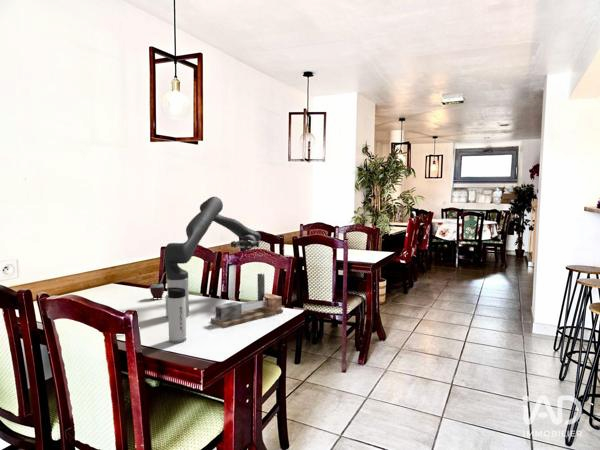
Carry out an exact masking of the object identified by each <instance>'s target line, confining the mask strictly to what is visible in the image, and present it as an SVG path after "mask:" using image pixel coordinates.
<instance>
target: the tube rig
mask: <svg viewBox="0 0 600 450" xmlns="http://www.w3.org/2000/svg"><path fill="white" fill-rule="evenodd" d="M265 298H267V299H268V306H265V307H261V308H257V309H252V310H248V311H244V312H241V304H240V303H241V302H240V303H239V302H238V301H231V302H228V303H223V304H216V305H215V306H214V307H215V308H214V310H215V315H214V316H215V317H212V318H210V323H213V324H215V325H218V326H220V327H222V328H229V327H233V326H235V325H241V324H245V323H247V322H252V321H255V320H260V319H263V318H266V317H267V318H268V317H270V316H271V317H272V316H276V315H279V314H283V313H284V309H283V307H282V301H283V299H282V296H279V295H276V294H272V293H269V292H268V293H265ZM282 312H283V313H282Z"/></svg>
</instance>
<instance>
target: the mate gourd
mask: <svg viewBox="0 0 600 450" xmlns="http://www.w3.org/2000/svg"><path fill="white" fill-rule="evenodd" d="M165 275H166V271H165V272H163V274H162V276H161V280H160V282H157V283H156V282H154V283H152V284H151V285H150V287H149V288H150V289H149V291H150V294H151V296H152V299H153V298H163V295H164V293H165V287H164V286H165V285H164V284H163V282H162V281H163V279H164V276H165Z"/></svg>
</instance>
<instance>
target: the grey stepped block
mask: <svg viewBox="0 0 600 450" xmlns="http://www.w3.org/2000/svg"><path fill="white" fill-rule="evenodd" d="M265 279H266V278H265V273H257V299H254V300H251V301H246V302H242V303H241V302H240V304H241V312H244V311H248V310H252V309H257V308H261V307H265V306H268V299H267V298H265V294H266V293H265V292H266V291H265V285H266V284H265V282H266V281H265Z"/></svg>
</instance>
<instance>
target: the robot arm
mask: <svg viewBox="0 0 600 450" xmlns="http://www.w3.org/2000/svg"><path fill="white" fill-rule="evenodd" d="M223 206H224V203H223V201H222V199H221V198H219V197H218V196H210V197H209V198H207V199H206V200H205V201H203V202H202V203H201V204H200V206H199V210H200V212H199V213H197V214H196V215H195V216H194V217H193V218H192V219H190V221H189V222H188V224H187V226H186V228H185V233H186V237H187V240H186V241H184V242H170V243H168V244H166V245H165V247H164V248H165V249H164V266H165V272H166V273H165V275H166V282H167V283H166V285H167V286H166V291H167V293H166V295H165V317H167V318H168V290H167V288H168V287H170V288H173V287H177V288H183V289H185V296H186V297H185V298H186V317H188V316H189V315H190V309H189V308H190V302H189V301H190V300H189V295H190V294H189V293H190V292H189V272H188V271H187V270H185V269H183V268H182V267H180V266H179V265H181V264H187V263H189V261H191V259H192V257H193V255H194V254H195V253H194V252H195V251H196V249H197V247H198V245H199V243H200V242H201V240H202V239H203V237H204V236H205V234H206V233H207V232H208V230H209V228H210V226H211V224H212V223H213V222H215V223H216V224H218V225H220V226H222V227H224V228H225V229H227V230H228V231H230V232H232V233H233V234H234V235H235V236H236V237H238V238H240V240H237V241H236V240H233V241H231V242H230V248H238V249H240V248H241V249H242V250H243V251H250V250H251V249H253V248H259V247H260V240H261V239H262V237H261V234H260V232H259V231H257V230H255V229H251V228H250V227H249V228H248V227H247V226H245V225H244V224H243V223H242V222H241V221H239V220H237V219H235V218H232V217H227V216H224V215H221V214H220V213H221V212H222V210H223Z"/></svg>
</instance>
